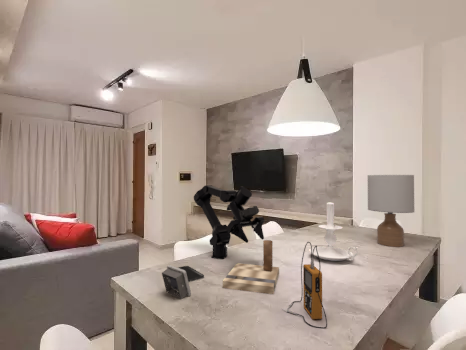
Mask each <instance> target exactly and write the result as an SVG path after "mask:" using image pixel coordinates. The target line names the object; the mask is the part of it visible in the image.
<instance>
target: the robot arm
mask: <svg viewBox="0 0 466 350" xmlns="http://www.w3.org/2000/svg"><path fill="white" fill-rule="evenodd" d="M252 195H253V193H252V191H251V190H249V189H247V188H246V187H245V186H239V188H238V190H235V189H223V188H219V187H216V186H214V185H211V184H208V185H204V186H203V187H202V188H200V189H199V190H197V191H196V192H195V194H194V195H193V200H194V202H195V204H196V205H197V206H198V207H200V208H201V209H202V211H203V213H204V215H205V217H206V219H207V221H208V222H209V224H210V227H211V229H212V230H211V231H212V232H211V237H210V239H209V245H211V246H212V256H211V258H212V259H221V260H222V259H223V260H224V259H225V258H226V257H227V256H228V247H227V245H229V244H230V240H231V238H232V237H231V236H232V235H234V236H236V237H237V238H239V239H240V240H242V241H243V242H245V243H247V244H248V243H249V239H248V237H247V235H246V233H245V231H244V229H243V228H244V227H245V228H246V227H251V229H252V231H253V232H254V233H255V234H256V235H257V236H258V237H259V239H261V240H263V241H264V240H265V236H264V231H263V224H264V223H265V221H266V220H265V218H264V217H263V216H256V215H258V214H259V212H260V210H259V207H258V206H257V205H253V206H250V207H247V208H244V206H246V205H247V203H248V201H249V200H250V199H251V197H252ZM213 196H215V197H218V198H219V200H220V201H221V202H223V203H229V204H227V207H226V211H231V212H230V213H232V215H233V217H232V218H233V219H232V220H230V221H229V223H228V224H221V221H220V219H219V218H218V216H217V214H216V212H215V210H214V208H213V206H212V205H211V200H212V197H213ZM254 216H255V218H254Z"/></svg>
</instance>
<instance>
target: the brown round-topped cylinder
mask: <svg viewBox="0 0 466 350" xmlns="http://www.w3.org/2000/svg"><path fill="white" fill-rule="evenodd" d="M262 242H263V245H262V246H263V253H262V254H263V257H262V259H263V260H262V261H263V263H262V264H263V265H262V266H263V269H264V270H265V271H269V272H270V271H271V270H272V267H273V240H270V239H266V240H265V239H263V241H262Z"/></svg>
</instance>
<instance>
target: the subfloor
mask: <svg viewBox="0 0 466 350" xmlns="http://www.w3.org/2000/svg"><path fill="white" fill-rule="evenodd" d="M279 275H280V267H279V266H272V270H271V271H270V272H269V271H265V270H264V269H263V265H259V264H250V263H241V262H239V263H236V264H235V265H234V266H233V268H232V269H231V270H230V271H229V272H228V274H227V275H226V276H225V277H224V279H223V280H222V289H229V290H237V291H244V292H245V291H246V292H251V293H259V294H260V293H261V294H266V295H268V294H269V295H274V294H275V293H274V292H275V289H276V287H277V282H278V279H279Z"/></svg>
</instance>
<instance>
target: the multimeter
mask: <svg viewBox="0 0 466 350" xmlns="http://www.w3.org/2000/svg"><path fill="white" fill-rule="evenodd" d="M308 244H309V245H310V248H311V253H310V263H309V264H308V263H307V264H303V262H304V256H305V255H304V254H305V252H306V248H307V245H308ZM313 247H314V249H315V247H316V251H317V247H318V246H317V245H315V246H312V243H311V241H307V242H306V243H305V246H304V248H303V252H302V253H303V254H302V257H301V265H300V276H301V277H300V280H301V283H300V284H301V285H302V287H301V299H300V300H295V301H292V302H291V303H290V304H289V305H288V307H287V310H286V309H284V308H281V310H282V311H284V312H287V313H290V314H293V315H298V316H300V317H302V318H303V322H304V323H306V324H307V325H308V326H310V327H313V328H318V329H326V328H327V327H328V319H327V315H326V311H325V309H324V305H323V273H322V271H321V258H319V255H318V252H317V255H318V257H317V258H318V265H319V269H318V268H317V267H316V266H315V259H314V257H313V254H312V248H313ZM314 249H313V252H314ZM301 302H303V308H304V310H306V312H307V314H308V315H309V316H310V318H311V320H322V319H323V312H324V317H325V324H326V325H325V326H317V325H316V326H315V325H311V324H310V323H308V322H307V321H306V320H305V319H306V318H305V316H304V315H302V314H299V313H296V312H295V311H291V310H289V308H291V307H292V306H293V304H294V303H301Z"/></svg>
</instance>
